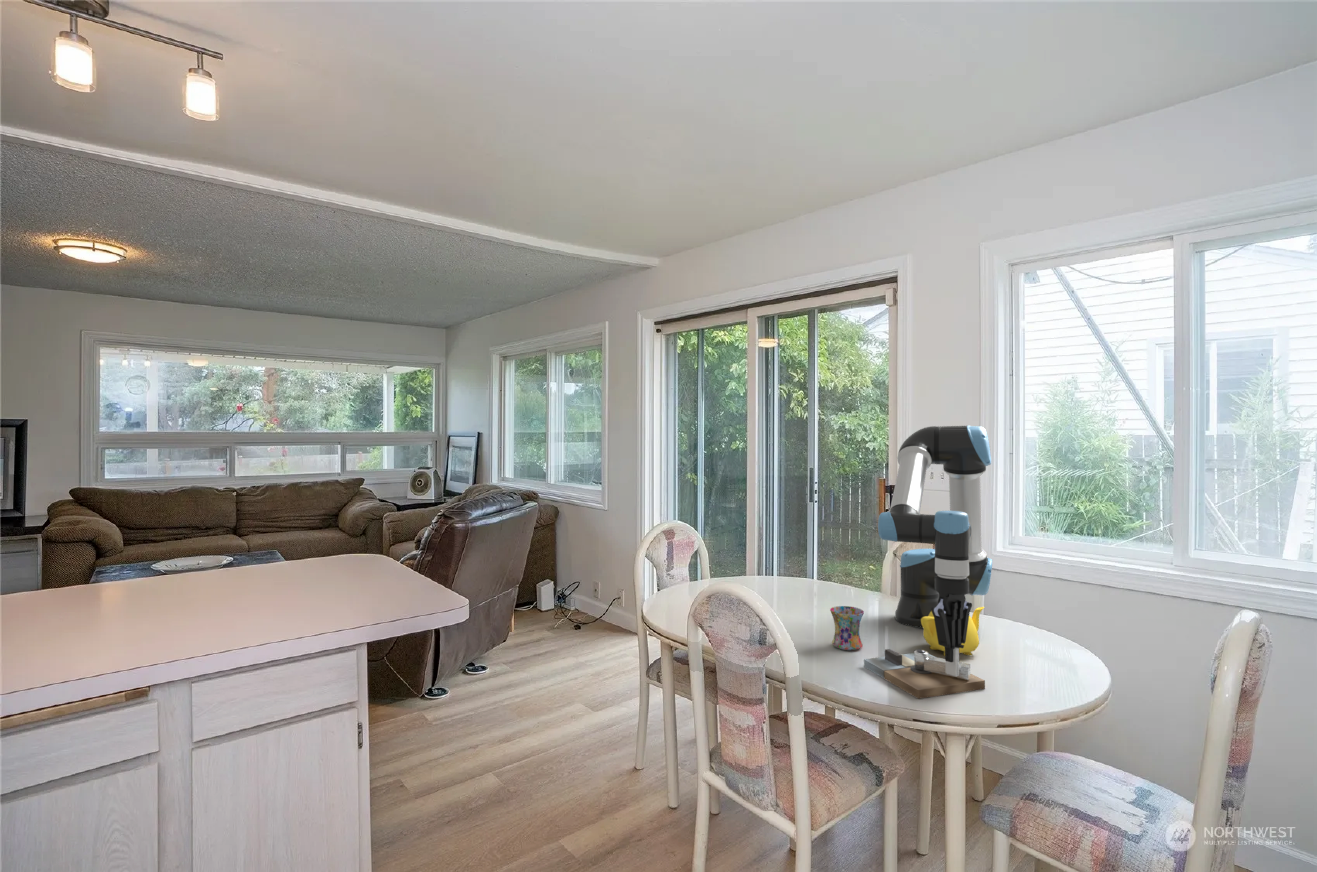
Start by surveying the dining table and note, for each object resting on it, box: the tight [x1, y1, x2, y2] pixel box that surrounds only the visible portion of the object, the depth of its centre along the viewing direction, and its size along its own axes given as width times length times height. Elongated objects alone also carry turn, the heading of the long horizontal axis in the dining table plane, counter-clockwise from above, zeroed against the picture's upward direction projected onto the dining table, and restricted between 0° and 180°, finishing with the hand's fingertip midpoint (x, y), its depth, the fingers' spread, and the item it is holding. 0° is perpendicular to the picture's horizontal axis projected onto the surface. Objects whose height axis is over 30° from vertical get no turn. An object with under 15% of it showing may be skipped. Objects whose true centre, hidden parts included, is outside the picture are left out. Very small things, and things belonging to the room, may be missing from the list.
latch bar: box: [913, 648, 971, 680], centre depth 155 cm, size 13×3×4 cm, turn 52°
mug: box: [829, 605, 865, 651], centre depth 183 cm, size 12×9×11 cm
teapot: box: [921, 606, 985, 657], centre depth 178 cm, size 13×20×12 cm
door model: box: [863, 648, 986, 700], centre depth 159 cm, size 19×21×4 cm
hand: (952, 674), depth 151 cm, fingers closed
